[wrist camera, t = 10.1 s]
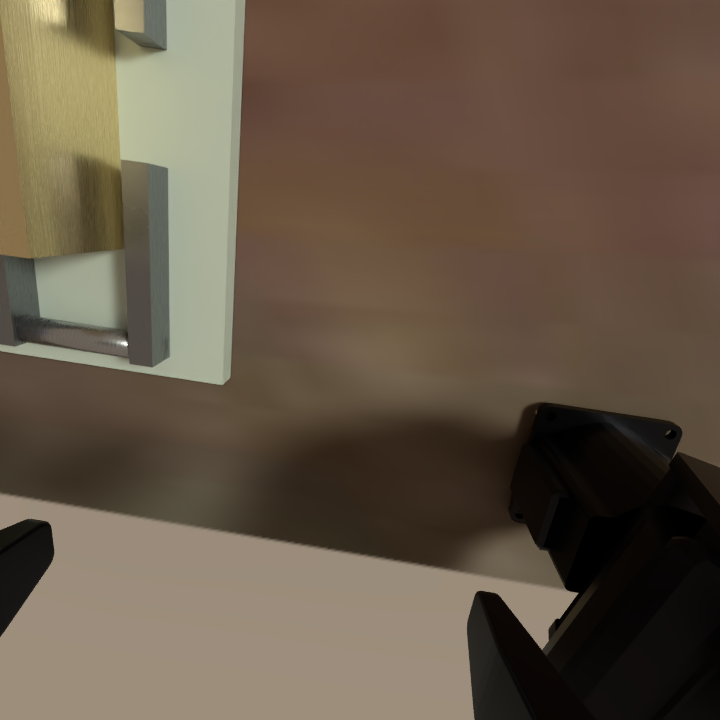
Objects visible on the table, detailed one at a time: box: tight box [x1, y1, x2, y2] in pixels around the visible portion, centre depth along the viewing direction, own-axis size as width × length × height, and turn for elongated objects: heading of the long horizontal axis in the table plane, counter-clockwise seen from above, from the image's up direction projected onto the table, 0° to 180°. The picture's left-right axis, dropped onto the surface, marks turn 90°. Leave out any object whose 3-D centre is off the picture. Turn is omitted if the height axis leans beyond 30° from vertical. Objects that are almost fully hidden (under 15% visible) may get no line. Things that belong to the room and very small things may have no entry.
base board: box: [0, 0, 245, 385], centre depth 17 cm, size 12×22×1 cm, turn 172°
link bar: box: [0, 0, 125, 259], centre depth 14 cm, size 3×11×5 cm, turn 173°
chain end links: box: [0, 0, 170, 368], centre depth 16 cm, size 7×20×2 cm, turn 172°
